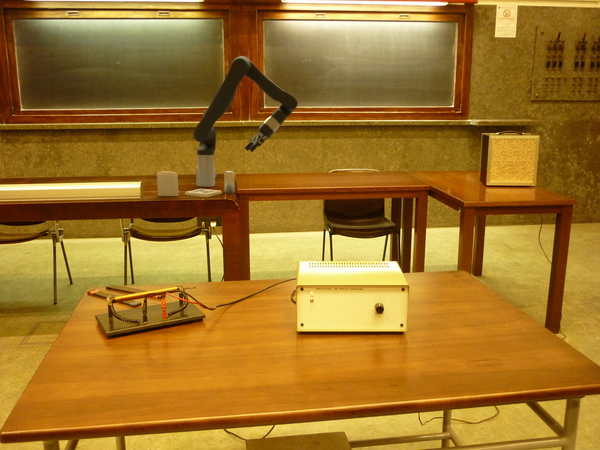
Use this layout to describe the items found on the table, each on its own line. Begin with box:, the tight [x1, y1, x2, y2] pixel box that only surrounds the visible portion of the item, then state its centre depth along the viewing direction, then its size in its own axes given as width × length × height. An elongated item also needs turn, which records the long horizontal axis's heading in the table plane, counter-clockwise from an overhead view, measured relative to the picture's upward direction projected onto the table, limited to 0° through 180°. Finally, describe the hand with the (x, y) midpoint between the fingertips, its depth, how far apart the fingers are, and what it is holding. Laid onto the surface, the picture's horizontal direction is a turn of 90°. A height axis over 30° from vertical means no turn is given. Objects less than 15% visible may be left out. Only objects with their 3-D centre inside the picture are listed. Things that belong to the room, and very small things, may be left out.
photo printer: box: [156, 170, 179, 197], centre depth 287 cm, size 10×4×12 cm, turn 86°
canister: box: [223, 170, 235, 195], centre depth 299 cm, size 5×5×11 cm
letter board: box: [184, 188, 223, 198], centre depth 294 cm, size 13×13×2 cm
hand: (248, 150), depth 299 cm, fingers open, 8 cm apart
